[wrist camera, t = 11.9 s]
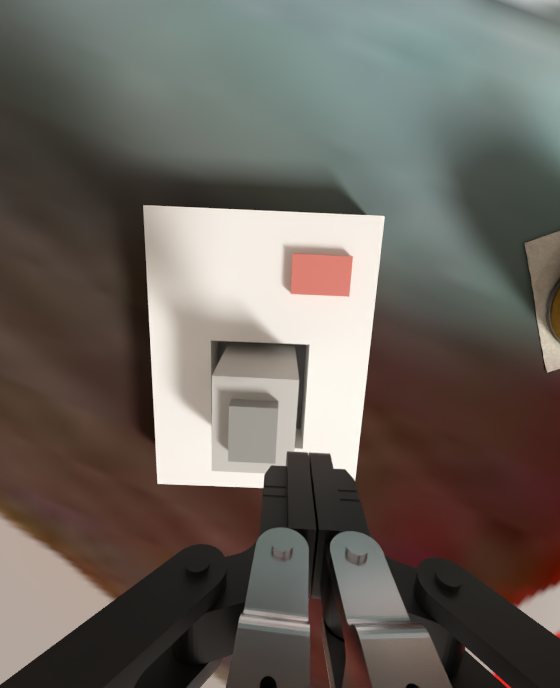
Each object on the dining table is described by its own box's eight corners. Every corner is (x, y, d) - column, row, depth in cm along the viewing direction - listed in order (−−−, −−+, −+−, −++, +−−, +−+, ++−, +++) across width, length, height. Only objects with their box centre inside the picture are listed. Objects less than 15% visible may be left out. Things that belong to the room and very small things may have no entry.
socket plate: (161, 209, 21) (138, 204, 18) (370, 219, 22) (387, 215, 18) (171, 456, 26) (154, 490, 22) (345, 463, 26) (355, 498, 22)
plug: (229, 341, 23) (208, 382, 16) (294, 344, 23) (300, 386, 16) (228, 415, 24) (208, 481, 18) (289, 418, 24) (293, 485, 18)
